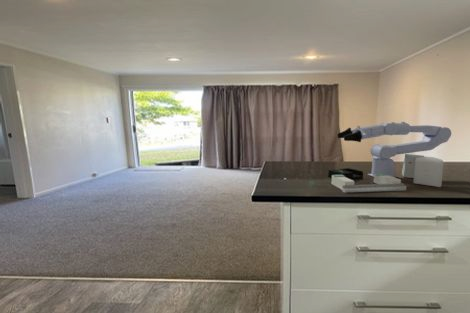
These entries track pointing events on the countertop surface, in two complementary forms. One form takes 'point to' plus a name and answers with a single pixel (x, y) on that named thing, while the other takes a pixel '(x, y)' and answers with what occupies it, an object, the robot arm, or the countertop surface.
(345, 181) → the block
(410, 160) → the small box
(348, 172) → the battery charger
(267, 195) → the countertop surface
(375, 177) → the block
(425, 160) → the photo printer
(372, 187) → the rail
